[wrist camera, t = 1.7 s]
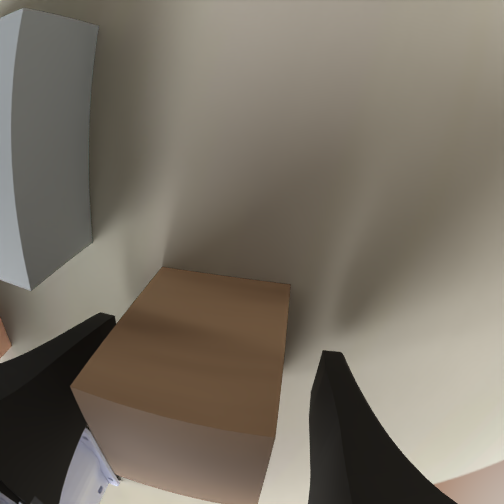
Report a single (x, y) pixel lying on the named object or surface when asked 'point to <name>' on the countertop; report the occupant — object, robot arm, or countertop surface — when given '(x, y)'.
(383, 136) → the countertop surface
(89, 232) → the slate base block
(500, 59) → the countertop surface
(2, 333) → the terracotta block
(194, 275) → the walnut block
